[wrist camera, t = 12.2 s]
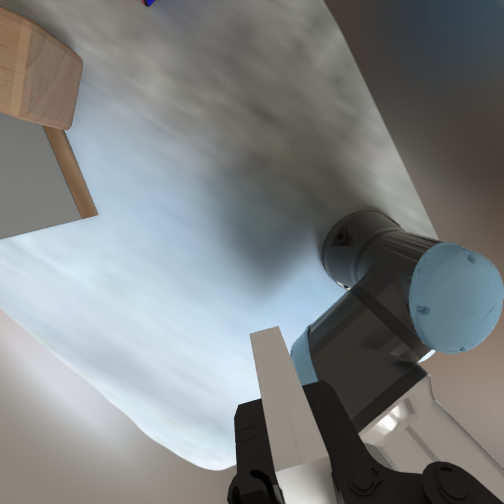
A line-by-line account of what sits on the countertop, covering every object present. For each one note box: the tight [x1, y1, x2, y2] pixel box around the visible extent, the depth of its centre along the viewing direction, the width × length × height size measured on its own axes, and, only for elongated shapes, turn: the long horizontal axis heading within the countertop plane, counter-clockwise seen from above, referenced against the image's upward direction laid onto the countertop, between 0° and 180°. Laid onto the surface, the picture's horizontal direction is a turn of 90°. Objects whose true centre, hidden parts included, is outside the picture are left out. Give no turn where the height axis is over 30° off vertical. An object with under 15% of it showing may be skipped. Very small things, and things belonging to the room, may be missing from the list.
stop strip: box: [43, 125, 98, 219], centre depth 39 cm, size 2×24×1 cm, turn 13°
